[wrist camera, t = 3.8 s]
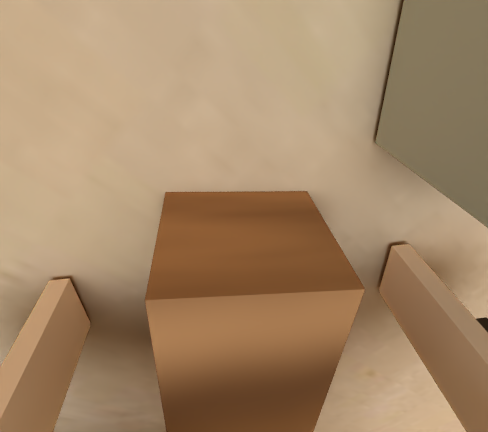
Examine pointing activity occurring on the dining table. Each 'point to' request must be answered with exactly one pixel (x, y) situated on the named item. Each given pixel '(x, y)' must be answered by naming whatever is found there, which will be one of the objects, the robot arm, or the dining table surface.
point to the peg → (247, 311)
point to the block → (441, 99)
